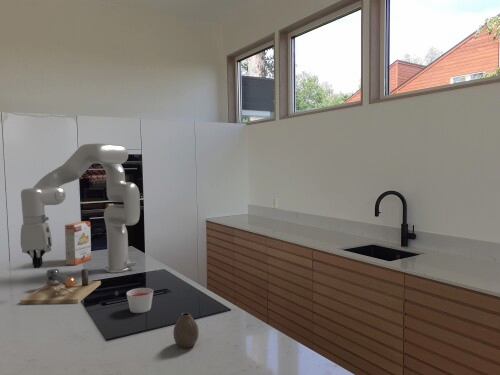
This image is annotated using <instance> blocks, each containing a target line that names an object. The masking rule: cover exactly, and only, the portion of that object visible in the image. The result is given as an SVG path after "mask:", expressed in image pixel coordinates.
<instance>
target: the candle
mask: <svg viewBox="0 0 500 375" xmlns="http://www.w3.org/2000/svg"><path fill="white" fill-rule="evenodd" d="M153 297H154V289H152V288H148V287H138V288H133V289H130V290H128V291H126V298H127V302H128V306H129V311H130V312H131V313H134V314H142V313H146V312H147V313H148V312H149V311H150V310H151V308H152V303H153Z"/></svg>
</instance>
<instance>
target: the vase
mask: <svg viewBox="0 0 500 375" xmlns="http://www.w3.org/2000/svg"><path fill="white" fill-rule="evenodd" d="M198 326H199V325H198V323H197V321H196V320H195V319H194V318H193V317H192V315H191V314H190V312H183V313H181V314H180V317H179V319H177V321H176V322H175V325H174V328H173V332H172V333H173V339H174V342H175V344H176V346H178V347H180V348H182V349H189V348H191V347H193V346H194V345H195V344H196V343H197V341H198V338H199V327H198Z"/></svg>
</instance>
